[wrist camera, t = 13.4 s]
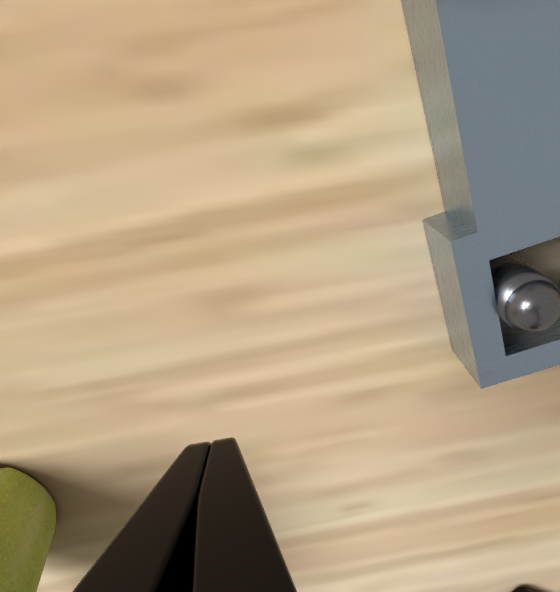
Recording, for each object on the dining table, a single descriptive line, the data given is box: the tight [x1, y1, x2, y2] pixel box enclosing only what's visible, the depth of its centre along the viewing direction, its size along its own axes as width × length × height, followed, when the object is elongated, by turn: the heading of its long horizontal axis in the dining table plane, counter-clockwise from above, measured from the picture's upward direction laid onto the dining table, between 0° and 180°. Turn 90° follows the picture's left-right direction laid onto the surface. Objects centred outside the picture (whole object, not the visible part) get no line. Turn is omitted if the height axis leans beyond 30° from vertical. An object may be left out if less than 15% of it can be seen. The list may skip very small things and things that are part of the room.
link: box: [402, 0, 560, 388], centre depth 15 cm, size 15×6×3 cm, turn 20°
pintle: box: [489, 254, 560, 332], centre depth 17 cm, size 2×2×4 cm
